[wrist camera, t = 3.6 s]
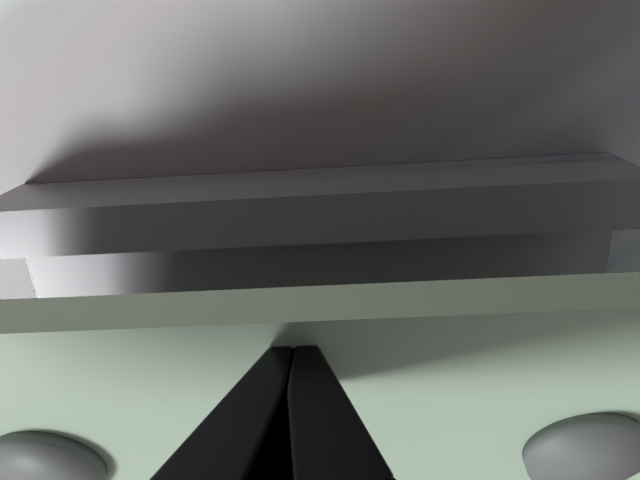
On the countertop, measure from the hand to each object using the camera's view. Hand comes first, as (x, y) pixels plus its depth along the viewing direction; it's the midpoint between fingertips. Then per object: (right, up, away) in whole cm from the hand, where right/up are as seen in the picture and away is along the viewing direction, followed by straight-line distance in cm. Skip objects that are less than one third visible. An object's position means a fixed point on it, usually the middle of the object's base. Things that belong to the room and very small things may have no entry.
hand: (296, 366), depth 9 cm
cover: (0, -3, +4) cm, 5 cm away
